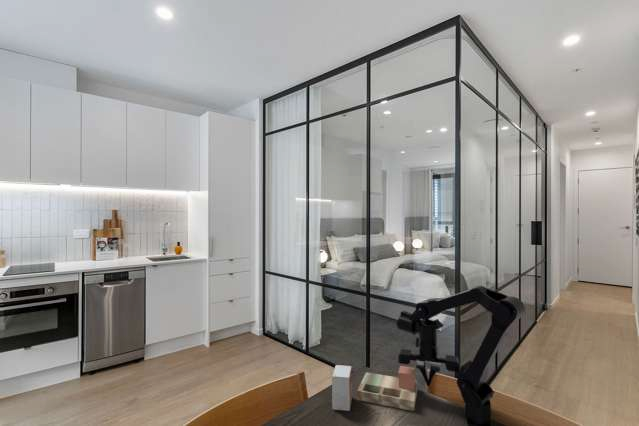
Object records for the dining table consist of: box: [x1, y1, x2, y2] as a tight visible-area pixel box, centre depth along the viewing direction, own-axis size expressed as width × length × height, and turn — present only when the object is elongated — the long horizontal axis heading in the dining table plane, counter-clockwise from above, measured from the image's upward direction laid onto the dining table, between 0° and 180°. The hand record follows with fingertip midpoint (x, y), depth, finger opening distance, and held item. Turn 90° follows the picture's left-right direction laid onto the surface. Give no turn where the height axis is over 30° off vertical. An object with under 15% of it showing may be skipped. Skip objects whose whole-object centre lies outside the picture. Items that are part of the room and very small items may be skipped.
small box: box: [331, 364, 353, 412], centre depth 104 cm, size 8×6×10 cm
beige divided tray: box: [356, 372, 418, 412], centre depth 109 cm, size 18×13×3 cm
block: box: [398, 365, 416, 390], centre depth 109 cm, size 5×5×5 cm
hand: (428, 385), depth 107 cm, fingers closed
